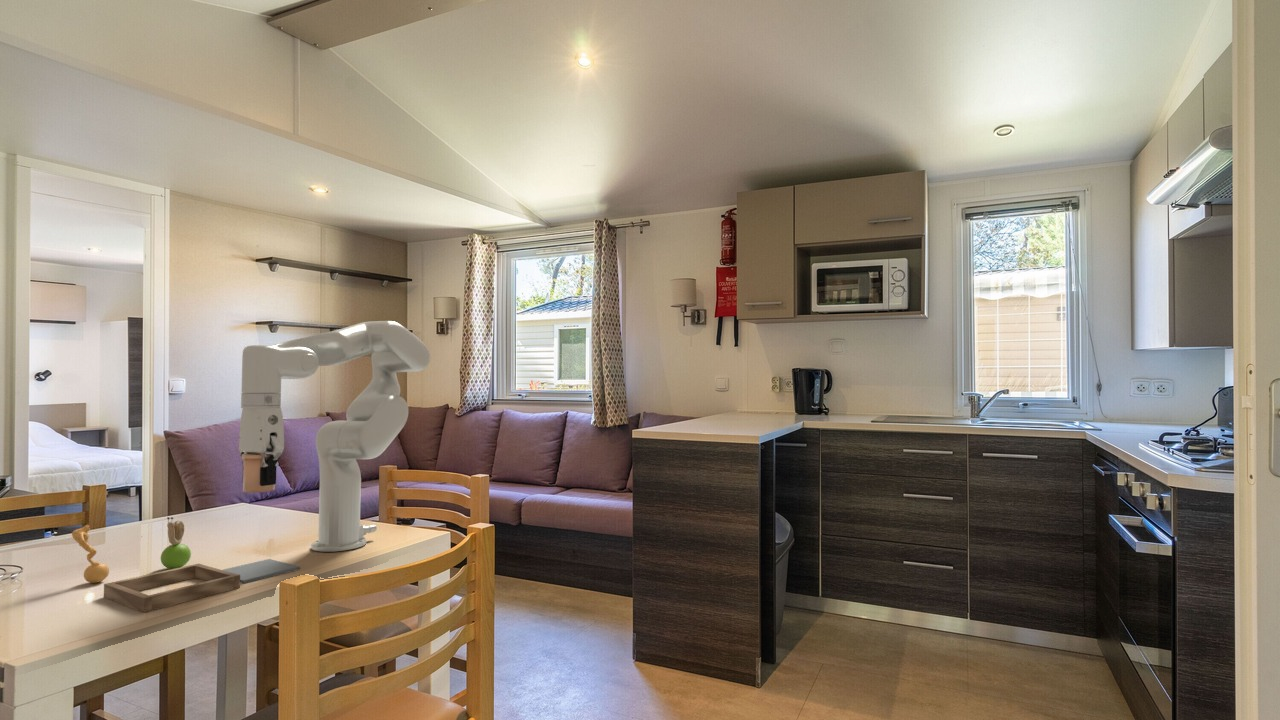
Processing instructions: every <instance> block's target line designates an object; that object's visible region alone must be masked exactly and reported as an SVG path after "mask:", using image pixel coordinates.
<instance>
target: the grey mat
mask: <svg viewBox="0 0 1280 720" xmlns="http://www.w3.org/2000/svg"><path fill="white" fill-rule="evenodd" d="M300 569H301V566H299V565H296V564H291V563H287V562H283V561H280V560H275V559H271V558H268V559H262V560H259V561H255V562H251V563H247V564H246V563H245V564H242V565H237V566H232V567H228V568H224V569H222V570H224V571H228V572H231V573H235V574H239V575H240V584H247V583H251V582H254V581H259V580H263V579H267V578H270V577H275V576H278V575H282V574H283V575H284V574H286V573H290V572H294V571H298V570H300Z"/></svg>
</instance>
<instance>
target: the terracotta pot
mask: <svg viewBox="0 0 1280 720" xmlns="http://www.w3.org/2000/svg"><path fill="white" fill-rule="evenodd" d="M269 456H270V455H266V457H267V459H268V457H269ZM241 459H244V468H243V467H242V492H243V493H248V494H249V493H250V494H251V493H254V494H255V493H256V494H257V493H267V492H272V491H275V490H276V489H275V488H276V484H274V485H267V486H260V467H263V466H262V461H261V459H262V455H260V454H254V453H246V454H242V457H241Z"/></svg>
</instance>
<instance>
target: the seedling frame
mask: <svg viewBox="0 0 1280 720" xmlns="http://www.w3.org/2000/svg"><path fill="white" fill-rule="evenodd" d="M191 579H198V580H200V581H201V580H202V581H203V582H199V583H195V584H191V585H186V586H182V587H179V588H174V589H170V590H166V591H162V592H161V591H160V592H157V593H153V594H146V593H144V592H140V591H144V590H148V589H152V588H157V587H161V586H165V585H169V584H174V583H178V582H182V581H186V580H191ZM240 588H241V583H240V575H239V574H235V573H231V572H228V571H224V570H223V569H220V568H216V567H212V566H208V565H204V564H203V563H195V564H191V565H184V566H182V567H180V568H176V569H168V570H163V571H158V572H153V573H149V574H144V575H139V576H136V577H131V578H130V577H129V578H125V579H121V580H116V581H111V582H106V583H104V584H103V598H104V599H107V600H110V601H112V602H115V603H118V604H120V605H123V606H124V607H125V606H126V607H128V608H131V609H133V610H135V611H139V612H141V613H149V612H151V611H154V610H156V611H157V610H159V609H162V608H167V607H171V606H175V605H179V604H182V603H185V602H190V601H193V600H197V599H201V598H205V597H209V596H213V595H217V594H220V593H223V592H224V593H225V592H229V591H233V590H237V589H240Z"/></svg>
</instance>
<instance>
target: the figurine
mask: <svg viewBox="0 0 1280 720" xmlns="http://www.w3.org/2000/svg"><path fill="white" fill-rule="evenodd" d="M90 531H91V528H90V525H88V524H86V525H84V526H83V527H81V528H77V529H75V530H73V531H72V532H71V537H72V539H73V540H74V541H75V542H76V543H78V546H80V547H81V548H82V549H84V551H86V552H87V553H88V554H86V559H87V561H88V562H89V564H90V565H89V566H87V567H86V568H85V569H84V572H83V578H84V580H85V581H86V582H88V583H89V584H98V583H101V582H104V580H105V579H107V578H108V576H109V573H110V569H109V566H108V565H107V564H105V563H102V562H98V561H94V560H93V559H92V558H94V557H95V555H96V554H97V552H98V551H97V550H96V549H95V548H94V547H93V546H92V545H90V544H89V537H90V535H89V532H90Z"/></svg>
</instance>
